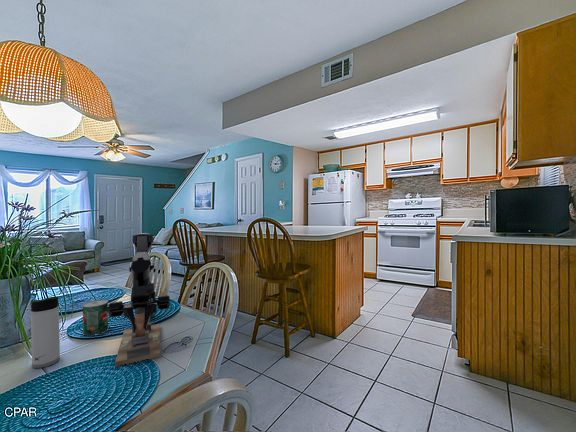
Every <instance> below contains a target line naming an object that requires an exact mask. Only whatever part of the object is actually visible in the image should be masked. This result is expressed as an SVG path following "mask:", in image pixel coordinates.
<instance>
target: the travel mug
mask: <svg viewBox="0 0 576 432" xmlns="http://www.w3.org/2000/svg"><path fill="white" fill-rule="evenodd" d="M30 334H31V337H30V338H31V339H30V340H31V367H32V368H34V369H43V368H47V367H49V366H52V365H54V364H56V363H58V362H59V360H60V359H61V355H60V352H61V351H60V350H61V349H60V348H61V347H60V306H59V296H49V297H46V298H42V299H35V300H32V301H30Z"/></svg>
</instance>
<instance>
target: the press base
mask: <svg viewBox="0 0 576 432" xmlns="http://www.w3.org/2000/svg"><path fill="white" fill-rule="evenodd" d="M131 327H132V326H131ZM145 331H149V342H145V343H140V344H135V345H131V338H132V334H133V333H135V331H134V330H133V327H132V328H127V329H124V330H123V334H122V337H121V340H120V344H119V348H118V351H117V355H116V358H115V361H114V364H115V365H114V368H119V367H121V366H120V365H123V366H125V365H124V364H127V365H130V364H129V363H132V364H134V363H133V362H136V361H140V360H145V359H149V360H153V359H158V358H161V324H160V323H157V324H152V322H150V321H149V323H148V325H147V328H146V329H145ZM145 361H146V360H145ZM140 362H141V361H140ZM136 363H137V362H136Z"/></svg>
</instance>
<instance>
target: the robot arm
mask: <svg viewBox="0 0 576 432" xmlns="http://www.w3.org/2000/svg"><path fill="white" fill-rule="evenodd" d="M153 243H154V235H153V234H151V233H148V232H140V233H139V232H138V233H136V234H133V235H132V245H134V250H135V251H136V254H135V255H134V256H132V259H131V260H132V262H130V263H129V267H128V268H129V273H131V278H132V287H131V293H130V302H129V303H128V302H127V303H123V300H122V301H121V300H120V301H113V302H110V303H108V317H109V318H116V317H117V318H118V317H121V316H123V318H128V320H129V322H130V324H131V327H133V330H134V331H135V309H136V308H139V307H144V308H145V329H146V328H147V325H148V323H150V320H151V318H152V317H153V316H154V315H155V313H157V311H158V309H159V310H160V311H163V310H167V309H170V307H171V301H170V300H171V299H170V295H168V294H164V295H158V296H156V294H157V293H156V291H155V285H154V284H155V283H153V282H151V276H150V275H151V271H153V269H155V263H154V262H153V260H151V255H150V254H149V252H150V251H151V250H152V244H153ZM156 297H157V298H156Z"/></svg>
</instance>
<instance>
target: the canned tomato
mask: <svg viewBox="0 0 576 432" xmlns="http://www.w3.org/2000/svg"><path fill="white" fill-rule="evenodd" d="M108 302H109V301H108V300H107V299H96V300H95V299H94V300H91V301H88V302H85V303H83V304H82V335H83V334H84V335H95V334H99V333H102V332H104V331H106V330H107V329H108V330H109V313H108V305H109V303H108ZM108 330H107V331H108ZM107 331H106V332H107ZM104 333H105V332H104ZM102 334H103V333H102ZM84 335H83V336H84ZM99 335H100V334H99ZM95 336H96V335H95Z"/></svg>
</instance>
